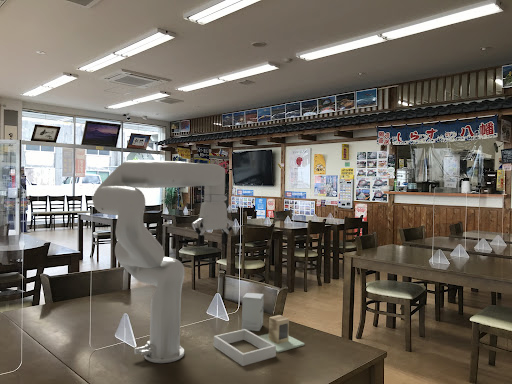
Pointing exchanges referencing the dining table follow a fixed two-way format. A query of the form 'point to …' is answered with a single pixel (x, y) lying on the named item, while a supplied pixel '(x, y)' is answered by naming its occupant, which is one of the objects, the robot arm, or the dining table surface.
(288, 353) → the dining table surface
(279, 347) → the mat
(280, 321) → the birch box
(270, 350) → the bin
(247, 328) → the supplement box
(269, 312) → the dining table surface
